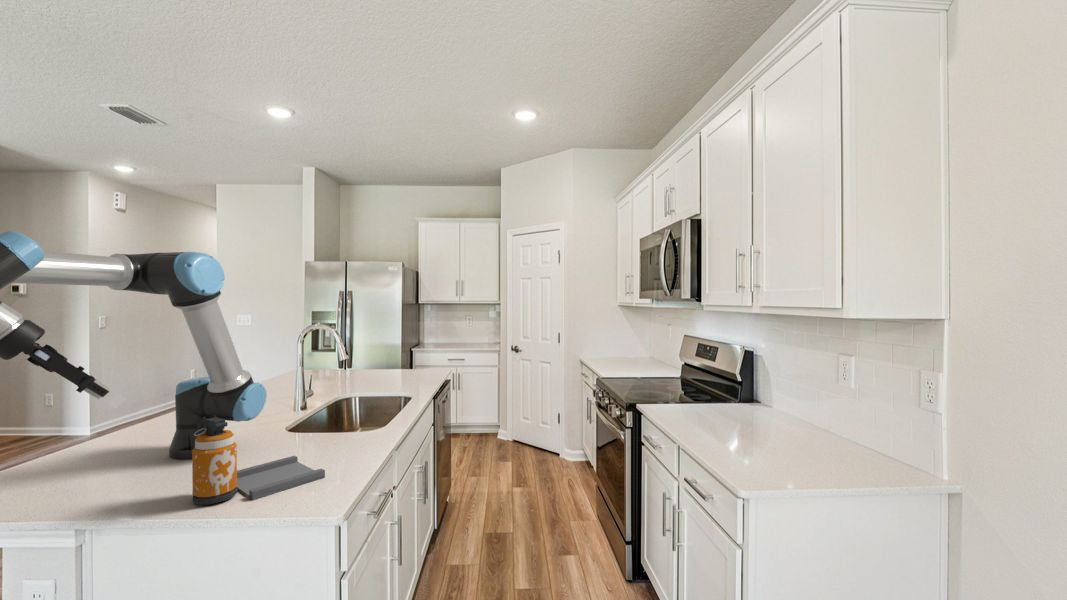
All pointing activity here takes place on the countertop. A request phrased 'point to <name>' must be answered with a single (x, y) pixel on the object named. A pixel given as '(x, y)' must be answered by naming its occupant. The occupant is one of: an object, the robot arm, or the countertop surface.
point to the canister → (214, 462)
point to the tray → (275, 477)
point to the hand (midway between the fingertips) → (113, 398)
